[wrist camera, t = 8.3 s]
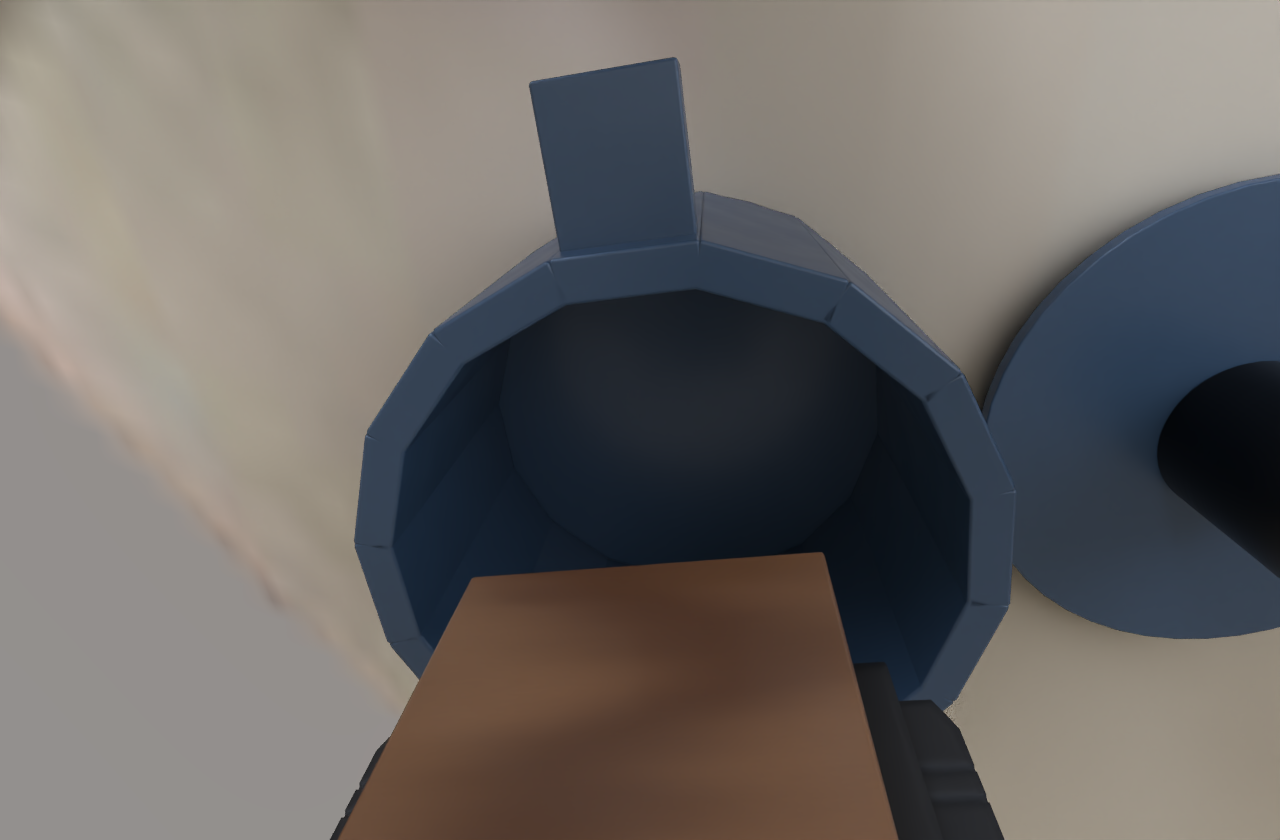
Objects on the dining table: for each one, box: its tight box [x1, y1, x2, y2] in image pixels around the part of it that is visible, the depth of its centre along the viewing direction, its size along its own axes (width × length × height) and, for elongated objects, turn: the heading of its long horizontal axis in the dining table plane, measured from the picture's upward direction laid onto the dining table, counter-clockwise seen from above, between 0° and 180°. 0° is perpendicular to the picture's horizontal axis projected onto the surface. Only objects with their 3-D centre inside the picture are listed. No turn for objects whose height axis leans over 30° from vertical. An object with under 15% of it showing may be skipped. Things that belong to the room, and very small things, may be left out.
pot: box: [354, 57, 1016, 711], centre depth 18 cm, size 13×18×8 cm
